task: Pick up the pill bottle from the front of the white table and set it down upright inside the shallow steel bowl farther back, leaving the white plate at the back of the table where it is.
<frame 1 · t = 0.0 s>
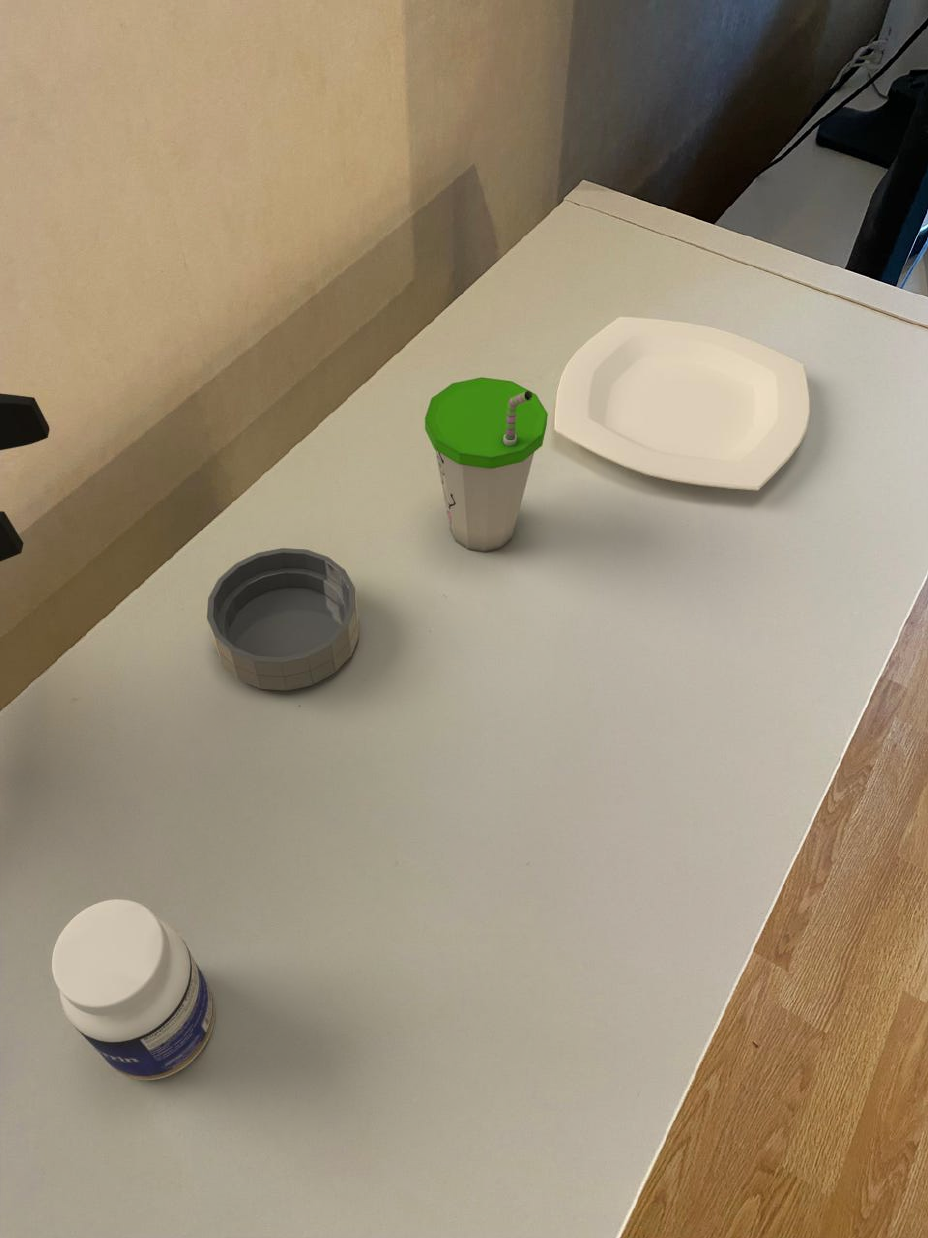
hand: (27, 472, 46), 20 cm above the table, tool horizontal, fingers open, 7 cm apart
cup: (482, 530, 73), on the table
bowl: (288, 636, 66), on the table
pill bottle: (160, 1024, 51), on the table
plate: (678, 416, 81), on the table
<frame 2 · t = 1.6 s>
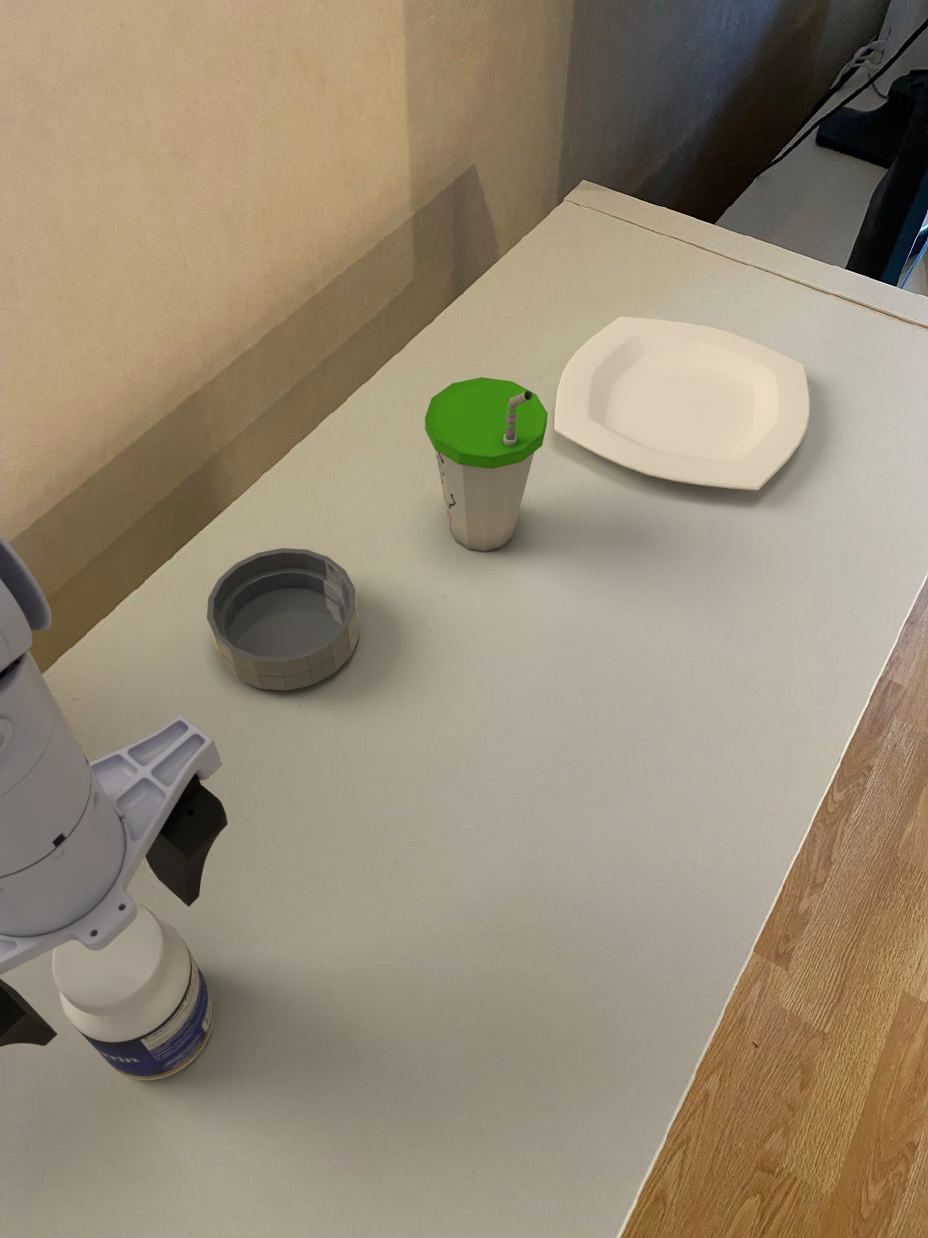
hand: (110, 953, 44), 9 cm above the table, tool pointing down, fingers open, 7 cm apart
nothing on the table moved.
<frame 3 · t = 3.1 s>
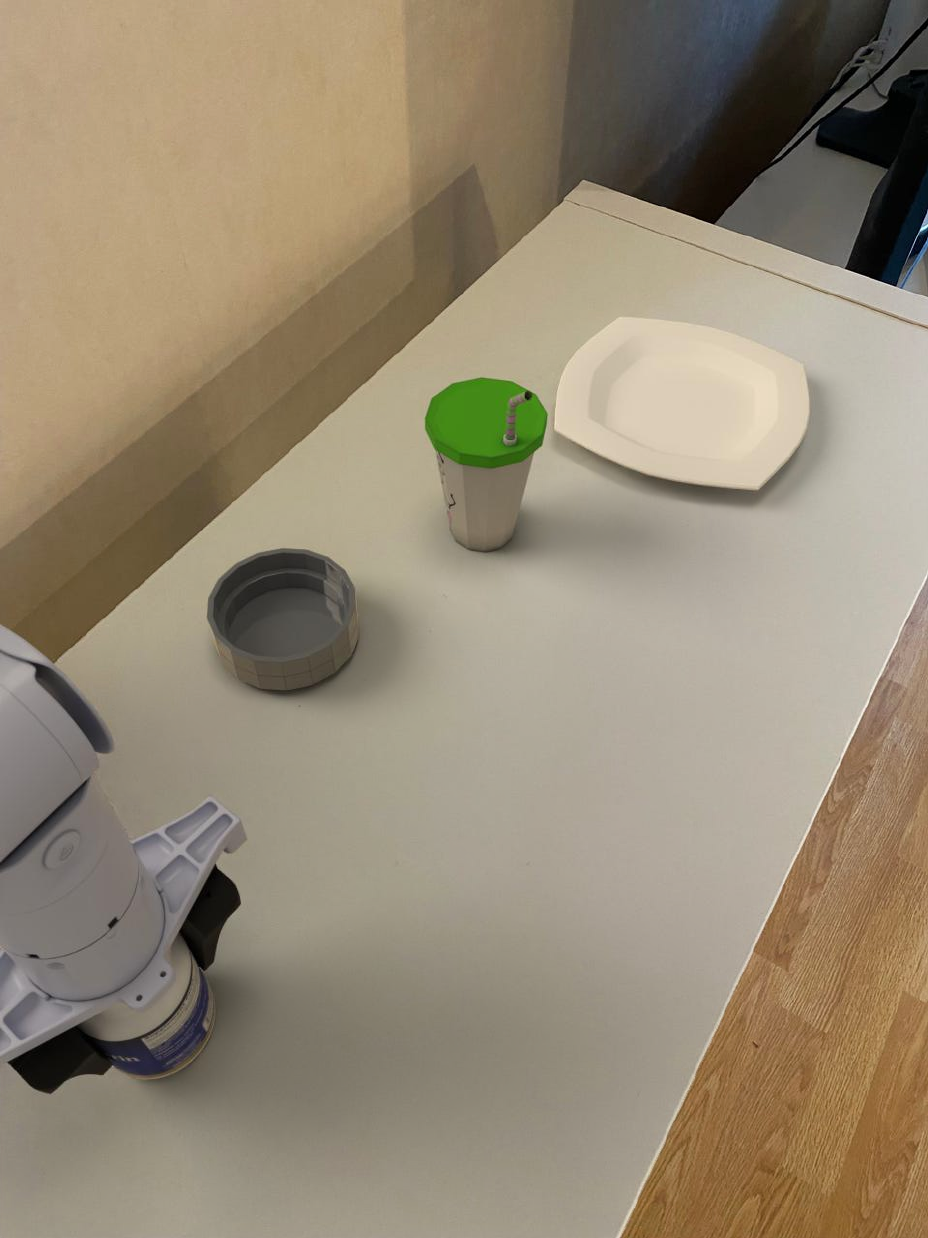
hand: (145, 1004, 49), 3 cm above the table, tool pointing down, fingers closed on pill bottle, 5 cm apart
pill bottle: (161, 1023, 51), on the table, touching gripper
everything else where it was.
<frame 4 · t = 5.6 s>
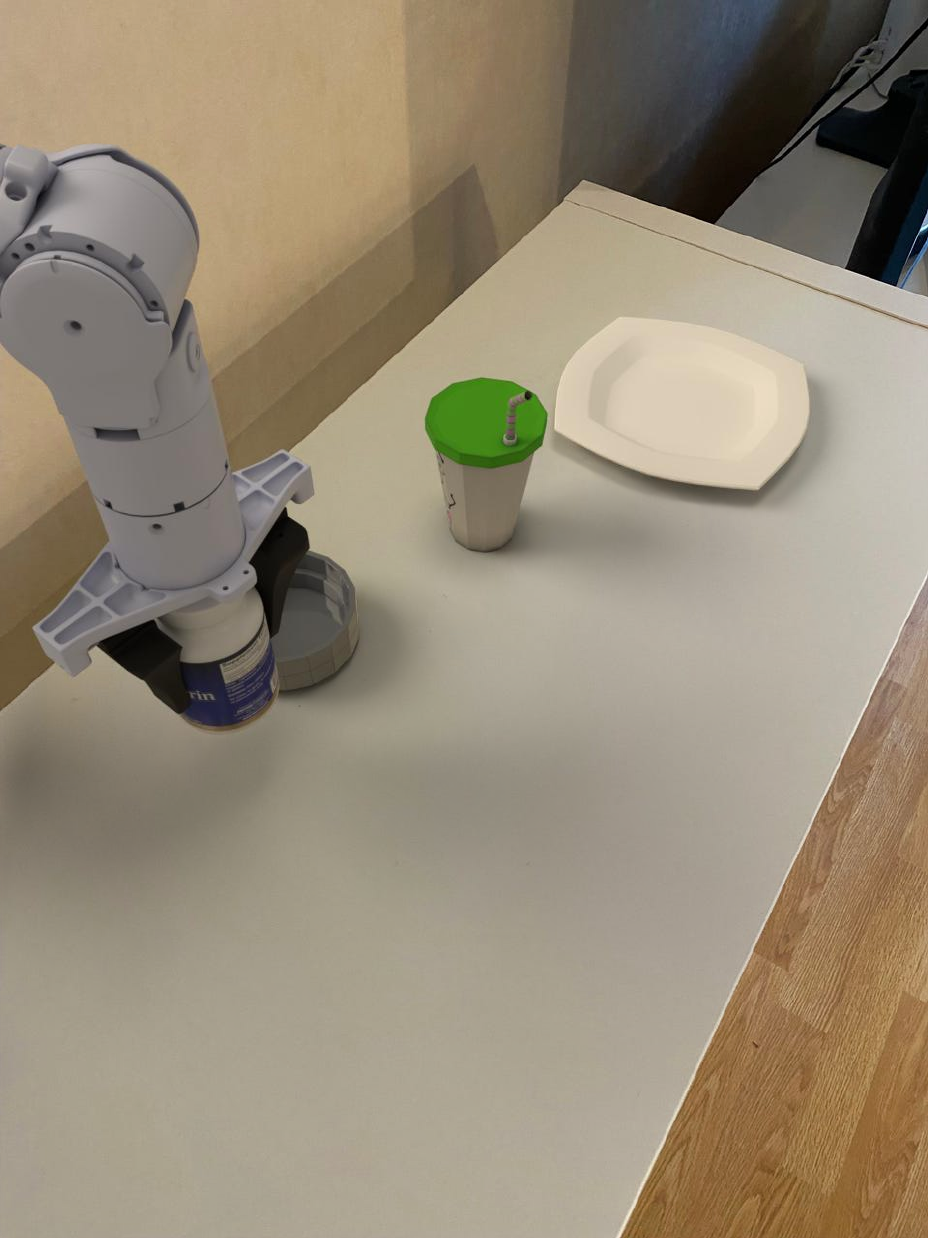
hand: (217, 662, 53), 10 cm above the table, tool pointing down, fingers closed on pill bottle, 5 cm apart
pill bottle: (228, 696, 55), point 7 cm above the table, touching gripper
everything else where it was.
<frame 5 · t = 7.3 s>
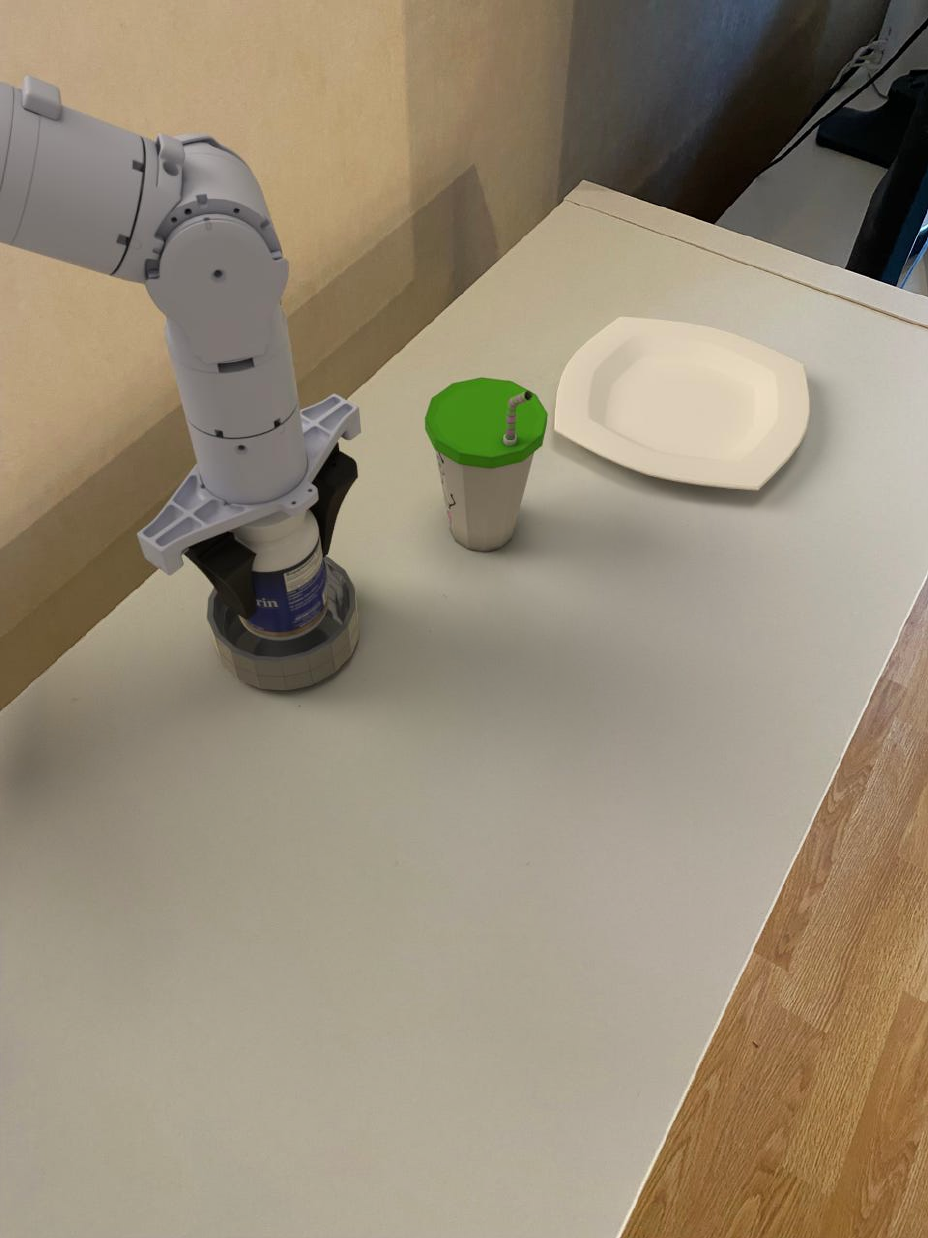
hand: (276, 578, 62), 6 cm above the table, tool pointing down, fingers closed on pill bottle, 5 cm apart
pill bottle: (284, 610, 64), point 3 cm above the table, touching gripper
everything else where it was.
when the fingers open (3 cm above the table, at t = 8.6 s): pill bottle stays where it is, resting on bowl.
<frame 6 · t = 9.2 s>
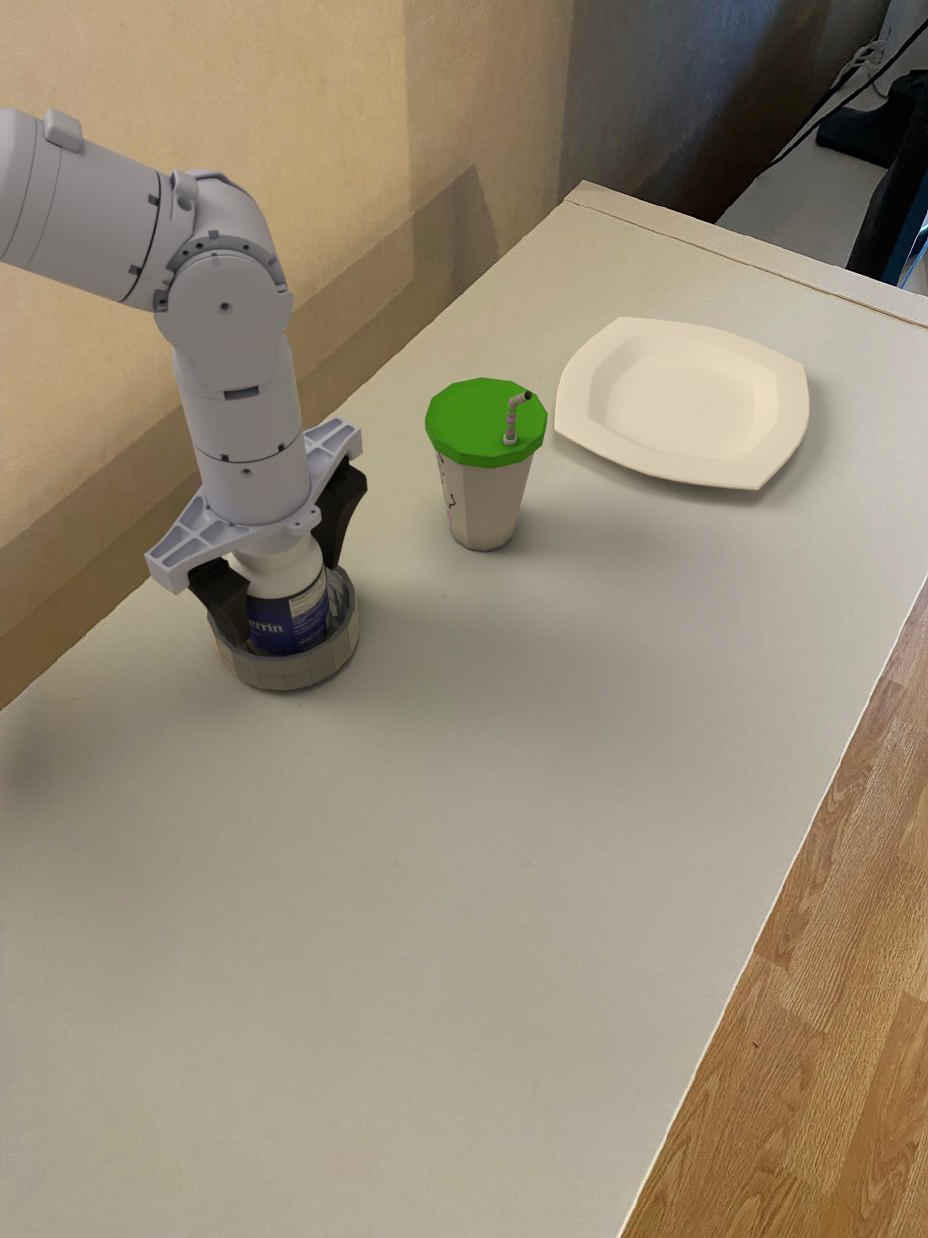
hand: (280, 595, 63), 4 cm above the table, tool pointing down, fingers open, 7 cm apart
pill bottle: (289, 633, 66), resting on bowl
everything else where it was.
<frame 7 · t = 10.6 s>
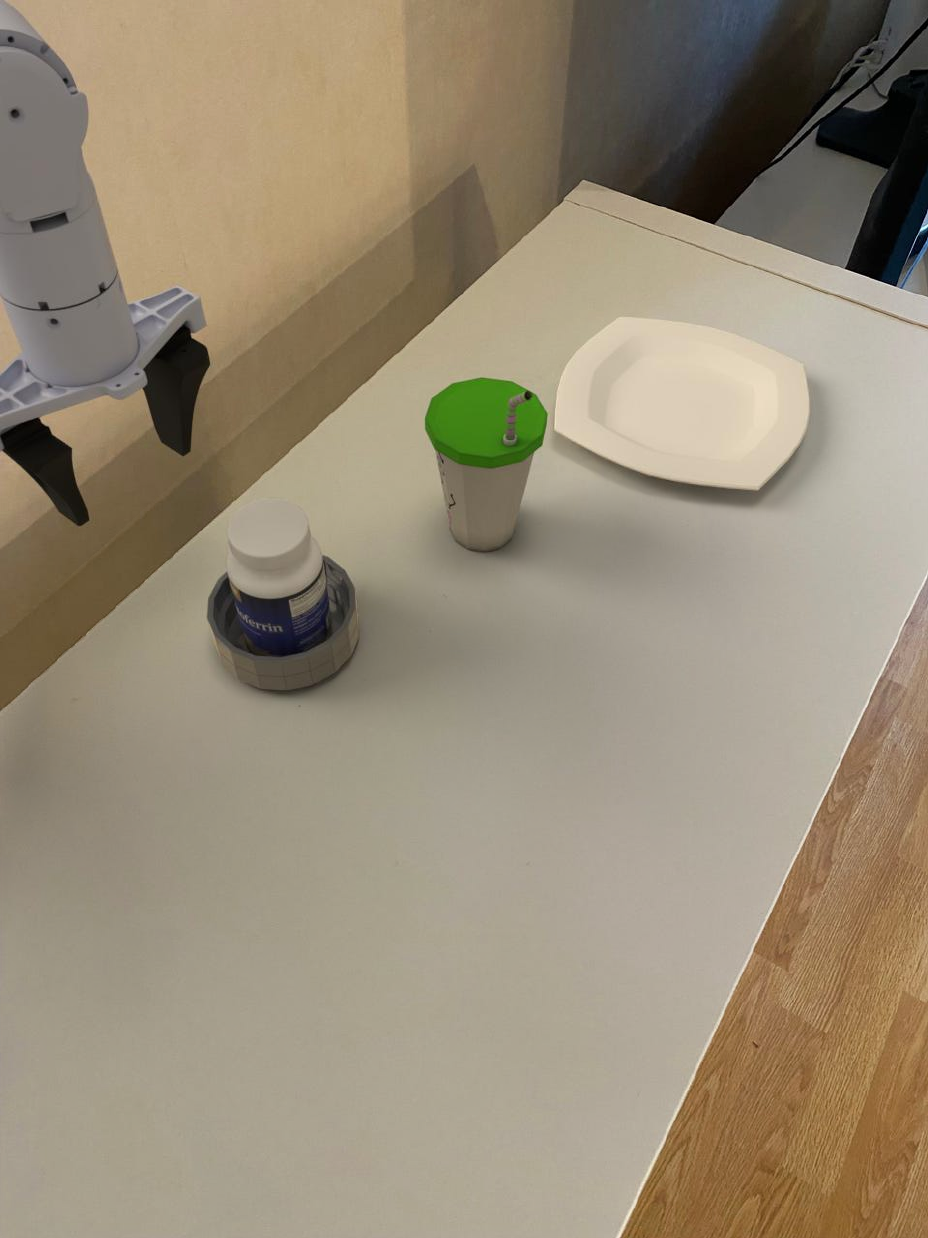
hand: (126, 480, 60), 10 cm above the table, tool pointing down, fingers open, 7 cm apart
nothing on the table moved.
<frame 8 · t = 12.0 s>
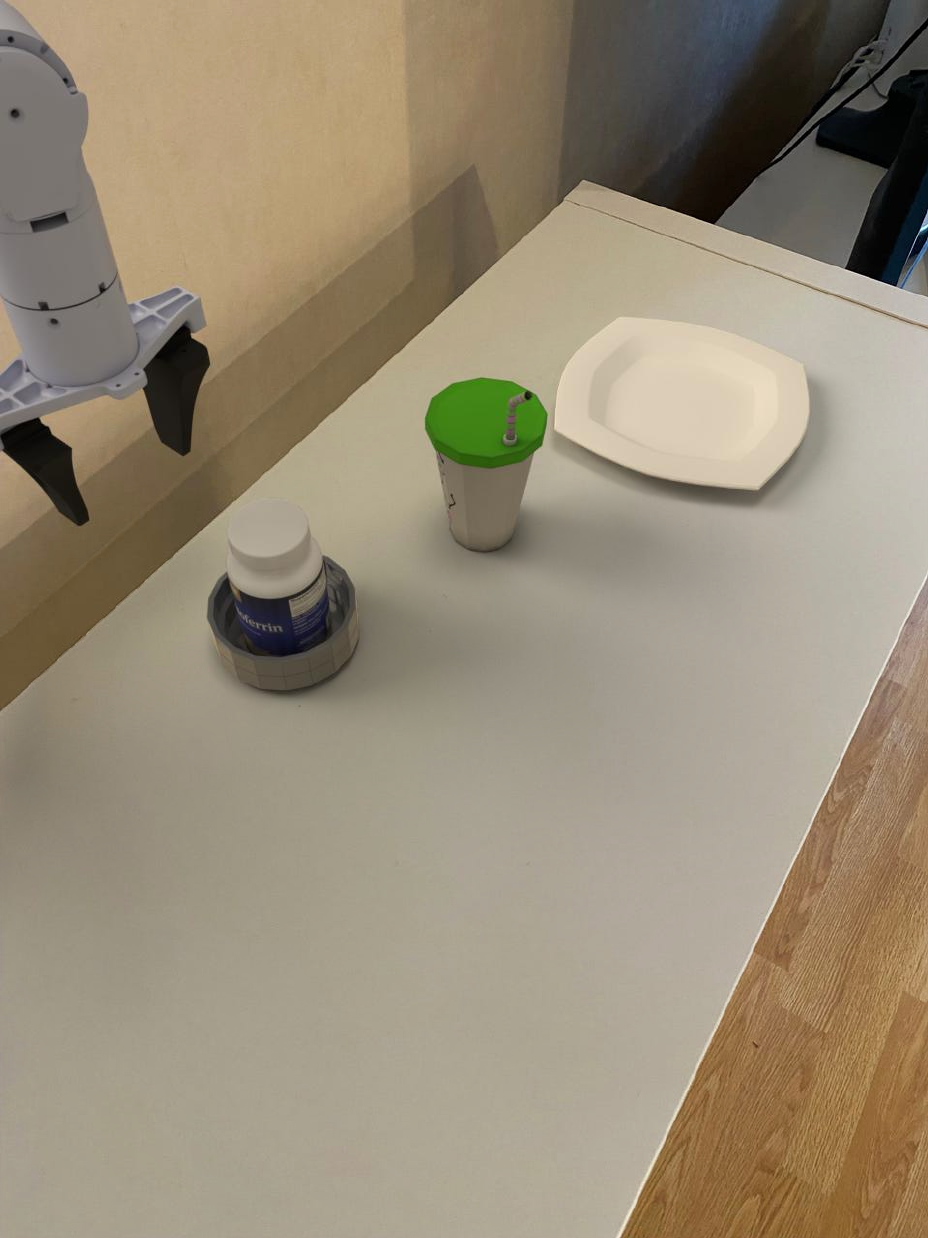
hand: (126, 480, 60), 10 cm above the table, tool pointing down, fingers open, 7 cm apart
nothing on the table moved.
at the end: pill bottle 0.1 cm off-centre in the bowl, point 0.3 cm above the bowl's base; pill bottle tilted 0°; plate moved 0.2 cm from its start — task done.
